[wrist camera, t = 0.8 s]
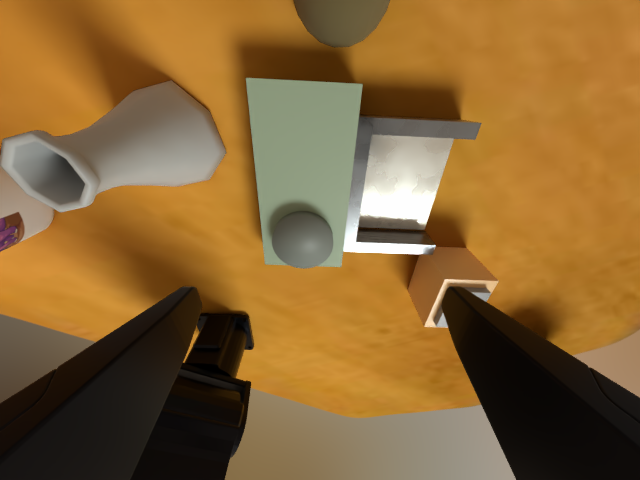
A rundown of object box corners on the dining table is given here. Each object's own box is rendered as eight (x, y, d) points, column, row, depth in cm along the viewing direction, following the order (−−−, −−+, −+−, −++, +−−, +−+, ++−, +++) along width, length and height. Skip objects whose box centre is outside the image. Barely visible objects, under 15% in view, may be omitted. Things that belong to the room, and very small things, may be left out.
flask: (171, 57, 15) (-17, 6, 7) (243, 155, 18) (178, 205, 10) (105, 120, 17) (-107, 141, 9) (181, 198, 20) (81, 271, 12)
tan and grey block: (446, 290, 26) (474, 333, 22) (407, 289, 26) (426, 332, 21) (466, 247, 23) (503, 286, 18) (421, 245, 23) (448, 284, 18)
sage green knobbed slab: (339, 251, 23) (342, 274, 20) (270, 249, 23) (262, 271, 20) (356, 85, 16) (365, 83, 13) (255, 80, 16) (240, 76, 13)
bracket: (421, 240, 23) (432, 254, 20) (340, 236, 22) (343, 251, 20) (461, 119, 17) (481, 122, 15) (354, 114, 17) (358, 116, 15)
